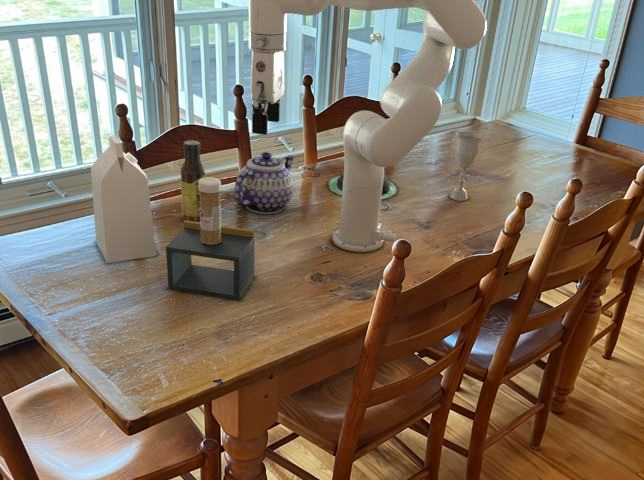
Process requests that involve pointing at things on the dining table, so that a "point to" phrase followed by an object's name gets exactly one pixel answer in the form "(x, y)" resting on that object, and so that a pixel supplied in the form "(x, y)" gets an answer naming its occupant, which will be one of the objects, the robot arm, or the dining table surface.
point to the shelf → (231, 248)
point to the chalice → (465, 158)
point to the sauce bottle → (191, 181)
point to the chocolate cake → (387, 188)
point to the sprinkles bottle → (210, 210)
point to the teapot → (265, 184)
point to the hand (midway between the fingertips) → (266, 127)
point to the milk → (121, 206)
